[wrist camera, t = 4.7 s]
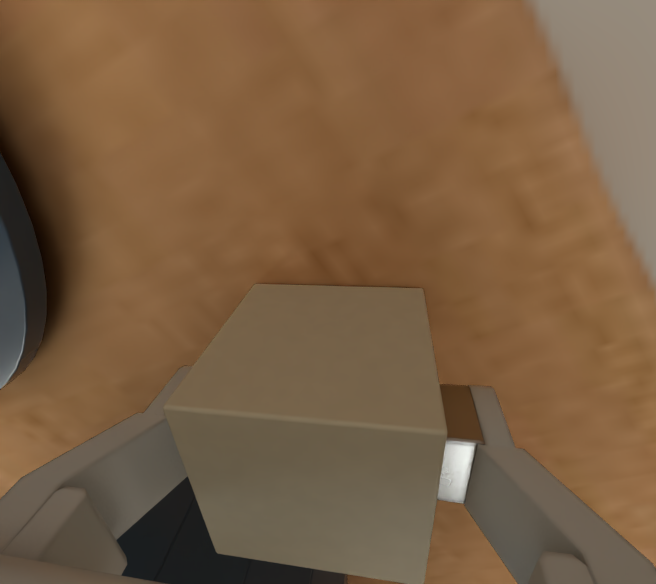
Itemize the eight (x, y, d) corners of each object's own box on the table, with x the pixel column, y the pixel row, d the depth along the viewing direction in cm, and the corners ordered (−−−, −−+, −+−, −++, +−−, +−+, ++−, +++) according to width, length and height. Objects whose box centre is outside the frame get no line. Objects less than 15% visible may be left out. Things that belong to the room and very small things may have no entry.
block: (273, 403, 11) (215, 554, 8) (254, 282, 9) (159, 406, 6) (412, 415, 11) (424, 589, 7) (423, 287, 9) (448, 432, 5)
